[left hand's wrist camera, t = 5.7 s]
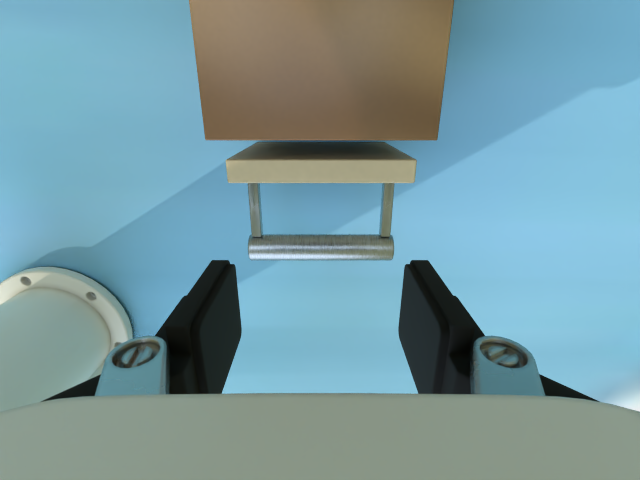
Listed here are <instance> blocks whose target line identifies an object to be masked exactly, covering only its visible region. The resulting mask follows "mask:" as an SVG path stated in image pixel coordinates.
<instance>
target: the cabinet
mask: <svg viewBox="0 0 640 480" xmlns="http://www.w3.org/2000/svg"><path fill="white" fill-rule="evenodd" d="M189 4H190V13H191V21H192V30H193V38H194V47H195V55H196V64H197V72H198V81H199V89H200V98H201V106H202V115H203V123H204V132H205V139H206V140H437V138H438V130H439V121H440V113H441V105H442V96H443V88H444V80H445V71H446V63H447V55H448V46H449V38H450V30H451V21H452V13H453V5H454V0H189Z"/></svg>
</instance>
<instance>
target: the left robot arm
mask: <svg viewBox="0 0 640 480" xmlns="http://www.w3.org/2000/svg"><path fill="white" fill-rule="evenodd" d="M240 338H241V319H240V309H239V299H238V289H237V278H236V269H235V265H234V264H230V262H229V261H228V260H212V261H211V262H210V264H209V265H208V267H207V268H206V269H205V271H204V272H203V274H202V275H201V277H200V278H199V279H198V281H197V282H196V284H195V285H194V286H193V288H192V289H191V291H190V292H189V293H188V295H187V296H184V297H183V298H182V299H181V301H180V302H179V303H178V305H177V306H176V307H175V309H174V310H173V312H172V313H171V314H170V316H169V317H168V318H167V320H166V321H165V323H164V324H163V325H162V327H161V328H160V330H159V331H158V332H157V334H156V335H155V336H142V337H137V338H133V334H132V327H131V324H130V320H129V318H128V316H127V314H126V312H125V310H124V308H123V307H122V305H121V304H120V303H119V302H118V300H117V299H116V298H115V297H114V296H113V295H112V294H111V293H110V292H109V291H108V290H107V289H106V288H104V287H103V286H101V285H100V284H99V283H97V282H96V281H94V280H92V279H90V278H88V277H86V276H84V275H82V274H80V273H77V272H74V271H71V270H68V269H63V268H56V267H36V268H30V269H26V270H23V271H21V272H19V273H16V274H14V275H13V276H11V277H9V278H8V279H6V280H4V281H3V282H2V283H0V480H640V412H638V411H635V410H631V409H627V408H624V407H620V406H616V405H613V404H608V403H602V402H599V401H597V400H595V399H593V398H590V397H588V396H586V395H584V394H582V393H579V392H577V391H575V390H573V389H571V388H568V387H566V386H564V385H562V384H560V383H557V382H555V381H553V380H551V379H549V378H546V377H544V376H542V375H540V374H539V372H538V369H537V365H536V362H535V359H534V357H533V355H532V354H531V353H530V352H529V351H528V350H527V349H526V348H525V347H523V346H522V345H520V344H519V343H517V342H514V341H512V340H510V339H507V338H503V337H498V336H485V335H484V334H483V332H482V331H481V330H480V328H479V327H478V325H477V324H476V323H475V321H474V320H473V318H472V317H471V316H470V314H469V313H468V312H467V310H466V309H465V307H464V306H463V305H462V303H461V302H460V301H459V299H458V298H457V297H456V296H453V295H452V293H451V292H450V291H449V289H448V288H447V286H446V285H445V284H444V282H443V281H442V279H441V278H440V277H439V275H438V274H437V272H436V271H435V269H434V268H433V267H432V265H431V264H430V262H429V261H428V260H412V261H411V262H410V264H406V265H405V269H404V279H403V289H402V299H401V309H400V319H399V338H400V341H401V344H402V347H403V350H404V353H405V356H406V359H407V361H408V364H409V367H410V370H411V373H412V376H413V379H414V382H415V385H416V388H417V390H418V393H419V394H378V393H250V394H221V393H222V390H223V388H224V385H225V382H226V379H227V376H228V373H229V370H230V367H231V364H232V361H233V359H234V356H235V353H236V350H237V347H238V344H239V341H240Z"/></svg>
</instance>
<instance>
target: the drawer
mask: <svg viewBox="0 0 640 480" xmlns="http://www.w3.org/2000/svg"><path fill="white" fill-rule="evenodd" d="M416 163H417V161H416V159H414V158H412V157H410V156H408V155H407V154H405V153H403V152H401V151H399V150H397V149H396V148H394V147H392V146H390V145H388V144H387V143H385V142H257V143H255V144H253V145H252V146H250V147H248V148H246V149H245V150H243V151H241V152H239V153H237V154H236V155H234V156H232V157H230V158H229V159H227V160H226V168H227V178H228V182H229V183H248V192H249V205H250V218H251V231H252V235H250V237H249V241H248V255H249V259H250V260H392V259H393V255H394V240H393V237H392V235H390V232H391V219H392V207H393V194H394V183H414V181H415V173H416ZM260 183H383V184H382V199H381V214H380V229H379V234H380V235H262V234H263V229H262V213H261V198H260Z"/></svg>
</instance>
